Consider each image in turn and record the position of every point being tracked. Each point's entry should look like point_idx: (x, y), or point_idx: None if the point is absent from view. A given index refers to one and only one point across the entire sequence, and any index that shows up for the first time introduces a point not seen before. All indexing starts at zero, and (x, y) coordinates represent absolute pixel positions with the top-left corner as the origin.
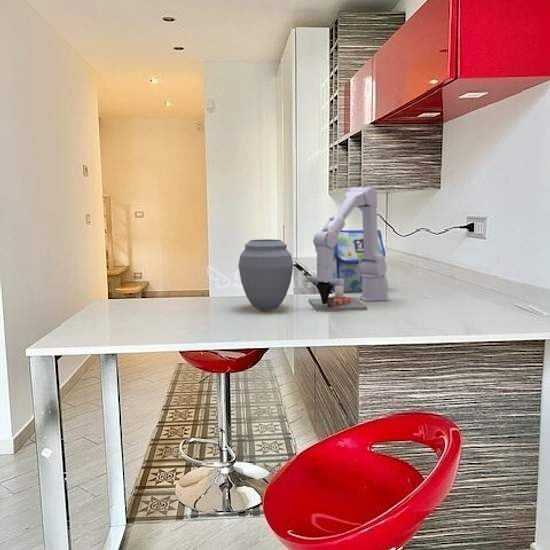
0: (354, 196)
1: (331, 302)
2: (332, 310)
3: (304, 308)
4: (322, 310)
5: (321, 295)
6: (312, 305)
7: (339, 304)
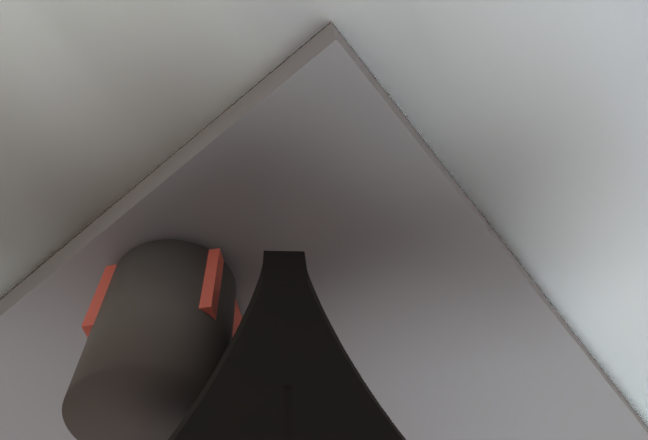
0: None
1: (104, 314)
2: (107, 210)
3: (627, 113)
4: (233, 104)
5: (312, 366)
6: (553, 309)
7: None
